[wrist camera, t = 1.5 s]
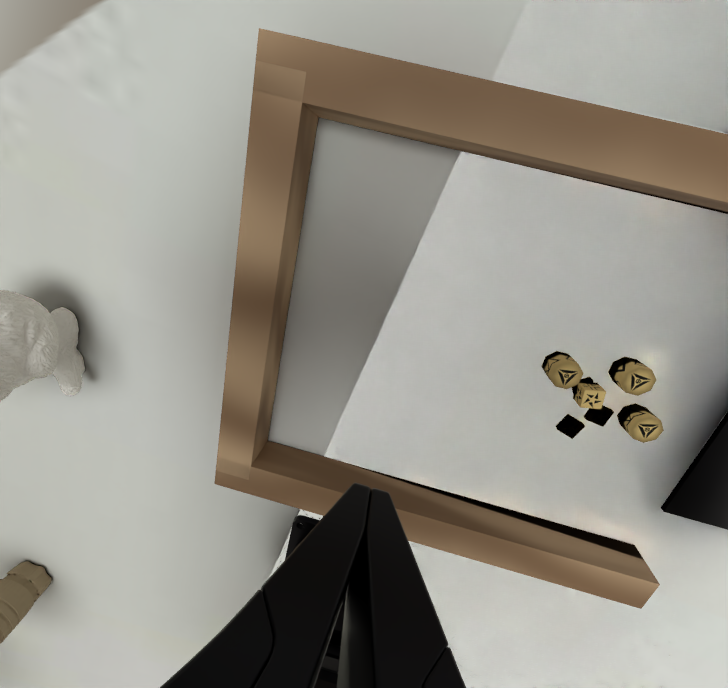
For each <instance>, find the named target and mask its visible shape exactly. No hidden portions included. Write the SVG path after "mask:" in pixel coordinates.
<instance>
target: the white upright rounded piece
mask: <svg viewBox="0 0 728 688" xmlns="http://www.w3.org/2000/svg"><path fill="white" fill-rule="evenodd" d="M78 331H79V328H78V323H77V319H76V317H75V315H74V313H73V312H71V311H70V310H68V309H67V308H64V307H60V308H58V309H55V310H53V311H52V312H51V313H49V312H48V310H47V309H46V308H45V307H43V305H42V304H40V303H39V302H37V301H35V300H34V299H32V298H30V297H27V296H23V295H21V294H18V293H16V292H9V291H4V290H3V291H2V290H0V402H1V401H2V400H3V399H5V398H6V397H7V396H8V395H9V394H10V393H11V392H12V390H13V389H14V388H17V387H19V386H20V385H24V384H26V383H28V382H29V381H31V380H33V379H35V378H43V377H46V376H48V375H50V374H53V375H54V376H55V377H56V379H57V381H58V383H59V386H60V388H61V390H62V392H63V393H64V394H65V395H68V396H72V395H75V394H77V393H78V392H79V391H80V389H81V384H82V374H83V373H84V371H85V366H84V359H83V357H82V355H81V354H80V352H79V351H78V350H77V349H76V346H77V344H78Z"/></svg>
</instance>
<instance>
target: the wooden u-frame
mask: <svg viewBox="0 0 728 688" xmlns="http://www.w3.org/2000/svg"><path fill="white" fill-rule="evenodd" d="M318 117H320V118H324V119H328V120H333V121H337V122H341V123H345V124H350V125H354V126H358V127H362V128H366V129H371V130H375V131H379V132H383V133H388V134H392V135H396V136H400V137H404V138H409V139H413V140H417V141H421V142H426V143H430V144H434V145H438V146H442V147H447V148H451V149H455V150H459V151H464V152H468V153H472V154H476V155H480V156H485V157H489V158H493V159H497V160H502V161H506V162H510V163H514V164H518V165H523V166H527V167H531V168H535V169H540V170H544V171H548V172H552V173H556V174H561V175H565V176H569V177H573V178H578V179H582V180H586V181H590V182H594V183H599V184H603V185H607V186H611V187H615V188H620V189H624V190H628V191H632V192H637V193H641V194H645V195H649V196H653V197H658V198H662V199H666V200H670V201H675V202H679V203H683V204H687V205H691V206H696V207H700V208H704V209H708V210H713V211H717V212H721V213H725V214H728V134H724V133H719V132H715V131H711V130H706V129H702V128H697V127H693V126H688V125H684V124H680V123H675V122H671V121H666V120H662V119H657V118H653V117H649V116H644V115H640V114H635V113H631V112H627V111H622V110H618V109H613V108H609V107H604V106H600V105H596V104H591V103H587V102H582V101H578V100H574V99H569V98H565V97H560V96H556V95H551V94H547V93H543V92H538V91H534V90H529V89H525V88H521V87H516V86H512V85H507V84H503V83H498V82H494V81H490V80H485V79H481V78H476V77H472V76H468V75H463V74H459V73H454V72H450V71H445V70H441V69H437V68H432V67H428V66H423V65H419V64H414V63H410V62H406V61H401V60H397V59H392V58H388V57H384V56H379V55H375V54H370V53H366V52H361V51H357V50H353V49H348V48H344V47H339V46H335V45H331V44H326V43H322V42H317V41H313V40H308V39H304V38H300V37H295V36H291V35H286V34H282V33H278V32H273V31H269V30H264V29H260V28H259V34H258V44H257V54H256V65H255V75H254V85H253V95H252V106H251V116H250V126H249V136H248V147H247V157H246V167H245V177H244V188H243V198H242V208H241V218H240V229H239V239H238V249H237V260H236V270H235V280H234V290H233V301H232V311H231V321H230V331H229V342H228V352H227V362H226V372H225V383H224V393H223V403H222V413H221V424H220V434H219V444H218V455H217V465H216V475H215V484H217V485H220V486H224V487H227V488H231V489H234V490H237V491H241V492H244V493H248V494H251V495H255V496H258V497H261V498H265V499H268V500H272V501H275V502H278V503H282V504H285V505H289V506H292V507H296V508H299V509H302V510H306V511H309V512H313V513H316V514H319V515H323V516H325V514H326V513H327V512H328V511H329V510H330V509H331V508H332V507H333V505H334V504H335V503H336V502H337V501H338V500H339V499H340V497H341V496H342V495H343V494H344V493H345V492H346V491H347V490H348V488H349V487H350V486H351V485H352V484H353V483H359V484H362V485H366V486H369V487H370V489H372V488H376V489H380V490H383V491H387V492H388V493H389V494H390V496H391V498H392V501H393V504H394V506H395V509H396V511H397V514H398V516H399V519H400V521H401V524H402V527H403V529H404V532H405V534H406V537H407V539H408V541H412V542H415V543H419V544H422V545H425V546H429V547H432V548H436V549H439V550H442V551H446V552H449V553H453V554H456V555H460V556H463V557H466V558H470V559H473V560H477V561H480V562H483V563H487V564H490V565H494V566H497V567H501V568H504V569H507V570H511V571H514V572H518V573H521V574H524V575H528V576H531V577H535V578H538V579H542V580H545V581H548V582H552V583H555V584H559V585H562V586H565V587H569V588H572V589H576V590H579V591H583V592H586V593H589V594H593V595H596V596H600V597H603V598H606V599H610V600H613V601H617V602H620V603H624V604H627V605H630V606H634V607H637V608H642V607H643V606H644V604H645V603H646V602H647V601H648V599H649V598H650V597H651V595H652V594H653V593H654V591H655V590H656V589H657V588H658V586H659V585H660V584H659V583H658V581H657V579H656V578H655V576H654V575H653V573H652V572H651V570H650V568H649V567H648V565H647V564H646V562H645V561H644V559H643V558H642V556H641V554H640V553H639V551H638V550H637V548H636V547H635V545H633V544H629V543H626V542H622V541H619V540H615V539H612V538H608V537H605V536H601V535H598V534H594V533H591V532H587V531H584V530H580V529H577V528H573V527H570V526H566V525H563V524H559V523H555V522H552V521H548V520H545V519H541V518H538V517H534V516H531V515H527V514H524V513H520V512H517V511H513V510H510V509H506V508H503V507H499V506H496V505H492V504H489V503H485V502H482V501H478V500H475V499H471V498H468V497H464V496H461V495H457V494H454V493H450V492H446V491H443V490H439V489H436V488H432V487H429V486H425V485H422V484H418V483H415V482H411V481H408V480H404V479H401V478H397V477H394V476H390V475H387V474H383V473H380V472H376V471H373V470H369V469H366V468H362V467H359V466H355V465H352V464H348V463H344V462H341V461H337V460H334V459H330V458H327V457H323V456H320V455H316V454H313V453H309V452H306V451H302V450H299V449H295V448H292V447H288V446H285V445H281V444H278V443H274V442H271V441H268V435H269V429H270V422H271V416H272V410H273V403H274V397H275V391H276V384H277V378H278V371H279V365H280V359H281V352H282V346H283V340H284V333H285V327H286V321H287V314H288V308H289V301H290V295H291V289H292V282H293V276H294V270H295V263H296V257H297V251H298V244H299V238H300V232H301V225H302V219H303V212H304V206H305V200H306V193H307V187H308V181H309V174H310V168H311V162H312V155H313V149H314V142H315V136H316V130H317V123H318Z"/></svg>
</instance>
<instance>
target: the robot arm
mask: <svg viewBox="0 0 728 688" xmlns="http://www.w3.org/2000/svg"><path fill="white" fill-rule="evenodd" d="M300 523H302V524H300ZM160 688H466V686H465V684H464V681H463V679H462V677H461V674H460V672H459V669H458V667H457V664H456V662H455V659H454V656H453V654H452V651H451V649H450V648H448V641H447V639H446V636H445V634H444V631H443V629H442V626H441V624H440V621H439V618H438V616H437V613H436V611H435V608H434V606H433V603H432V601H431V598H430V595H429V593H428V590H427V588H426V585H425V583H424V580H423V578H422V575H421V573H420V570H419V567H418V565H417V562H416V560H415V557H414V555H413V552H412V550H411V547H410V544H409V542H408V539H407V537H406V534H405V532H404V529H403V527H402V524H401V521H400V519H399V516H398V514H397V511H396V509H395V506H394V504H393V501H392V498H391V496H390V494H389V493H388V492H387V491H383V490H380V489H376V488H372V489H370V487H369V486H366V485H362V484H359V483H353V484H352V485H351V486H350V487H349V488H348V490H347V491H346V492H345V493H344V494H343V495H342V496H341V497H340V499H339V500H338V501H337V502H336V503H335V504H334V505H333V507H332V508H331V509H330V510H329V511H328V512H327V513H326V514H325V516H324V517H323V518H322V519H321V520H316V519H313V518H309V517H306V516H302V515H299V516H296V517H295V519H294V522H293V525H292V530H291V534H290V539H289V544H288V549H287V553H286V558H285V561H284V562H283V563H282V564H281V565H280V567H279V568H278V569H277V570H276V571H275V572H274V573H273V575H272V576H271V577H270V578H269V579H268V580H267V581H266V582H265V584H264V585H263V586H262V587H261V590H258V591H257V592H256V593H255V595H254V596H253V597H252V598H251V599H250V600H249V601H248V603H247V604H246V605H245V606H244V607H243V608H242V609H241V610H240V611H239V612H238V613H237V614H236V616H235V617H234V618H233V619H232V620H231V621H230V622H229V623H228V624H227V625H226V626H225V627H224V628H223V629H222V630H221V631H220V632H219V633H218V634H217V635H216V636H215V637H214V638H213V639H212V640H211V641H210V642H209V643H208V644H207V645H206V646H205V647H204V648H203V649H202V650H201V651H199V652H198V653H197V654H196V655H195V656H194V657H193V658H192V659H191V660H190V661H189V662H188V663H187V664H185V665H184V666H183V667H182V668H181V669H180V670H179V671H178V672H177V673H176V674H174V675H173V676H172V677H171V678H170V679H169V680H168V681H167V682H166V683H165V684H163V685H162V686H161V687H160Z"/></svg>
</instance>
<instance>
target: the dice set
mask: <svg viewBox="0 0 728 688" xmlns="http://www.w3.org/2000/svg"><path fill="white" fill-rule="evenodd" d="M542 368H543V370H544V371H545V373H546V375H547V376H548V378H549V379H550V380H551V382H552V383H553V384H554V385H555V386H556V387H560V388H564V389H568V388H570V387H572V391H573V394H574V395H573V399H574V400H575V401H576V403H577V404H578V405H579V406H580V407H582V408H589V409H588V411H587V412H586V414H585V415H584V418H585V419H586V420H588V421H590V422H593V423H595V424H598V425H600V426H604V425H605V424H606V422H607V421H608V420H609V418H610V417H611V416H612V414H613V413H614V411H613V410H612V409H610V408H608V407H605V406H603V401H604V398H605V394H606V391H605V390H604V389H603V388H602V387H601V386H600V385H599V384H598V383H594V382H593V379H592V378H591V377H587V378H583V379H581V378H582V375H583V372H582V370H581V368H580V366H579V364H578V363H577V362H576V361H575V360H574V359H573V358H572V357H571V356H570V355H569V354H567V353H563V352H558V351H556V352H554V353H552V354H550V355H548V356H546V357H545V359H544V362H543V364H542ZM608 373H609V375H610V377H611V379H612V381H613V382H614V383H616V384H617V385H618V386H619V387H620V388H621V389H622V390H623V391H625V392H626V393H629V394H633V395H637V396H638V395H641V394H643V393H646V392H648V391H650V390H651V389H652V387H653V385H654V384H655V382H656V378H655V375H654V373H653V371H652V370H651V369H650V368H648V367H647V366H645V365H644V364H642V363H641V362H640V361H638V360H637V359H633V358H629V357H623V358H621V359H618V360H616V361H614V362H613V363H612V365H611V367H610V369H609V371H608ZM617 417H618V420H619V424H620V425H621V426H622V427H623V428H624V430H625V431H626V432H627V433H628V434H629V435H630V436H631V437H632V438H633V439H635V440H638V441H640V442H643V443H644V442H648V441H652V440H656V439H657V438H658V437H659V435H660V434H661V433H662V432H663V431H664V430H663V426H662V422H661V420H659V419H658V418H657V417H656V416H655V415H654V414H653V413H652V412H650V411H649V410H648V409H647V408H646V407H643V406H641V405H638V404H636V403H635V404H631V405H628V406H624V407H623V408H622V409H621V411H620V412H619V413H618V415H617ZM584 427H585V425H584V424H583V423H582V422H581V421H579V420H577V419H576V418H574V417H572V416H571V415H569V414H567V415H566V416H565V417H564V418H563V419H562V420H561V421H560V422H559V423H558V424H557V425H556V428H557V430H559V431H560V432H562V433H564V434H565V435H567V436H569V437H570V438H572V439H573V438H574V437H575V436H576V435H577V434H578V433H579V432H580V431H581V430H582V429H583V428H584Z"/></svg>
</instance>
